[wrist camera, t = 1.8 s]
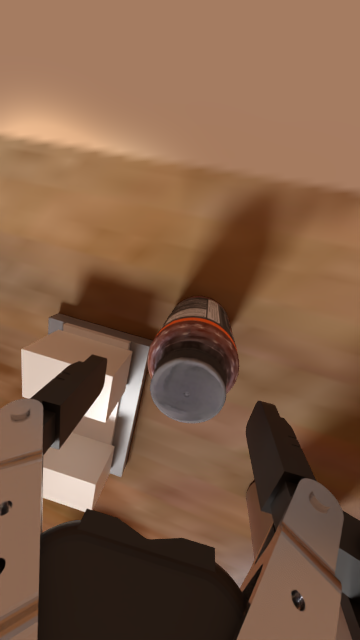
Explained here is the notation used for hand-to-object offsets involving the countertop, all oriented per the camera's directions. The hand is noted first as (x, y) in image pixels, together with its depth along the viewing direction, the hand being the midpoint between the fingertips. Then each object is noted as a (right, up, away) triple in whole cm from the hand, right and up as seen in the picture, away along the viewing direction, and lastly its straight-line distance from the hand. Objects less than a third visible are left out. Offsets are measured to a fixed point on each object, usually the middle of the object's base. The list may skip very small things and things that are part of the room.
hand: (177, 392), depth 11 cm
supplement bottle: (+2, +3, +11) cm, 11 cm away
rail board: (-10, -6, +16) cm, 20 cm away
